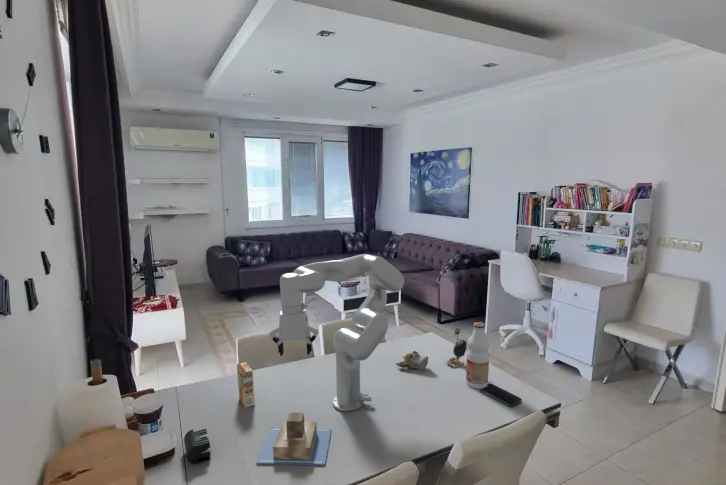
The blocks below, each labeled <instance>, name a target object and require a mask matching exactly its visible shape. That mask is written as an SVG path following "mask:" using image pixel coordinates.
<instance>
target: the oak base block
mask: <svg viewBox="0 0 726 485" xmlns="http://www.w3.org/2000/svg"><path fill="white" fill-rule="evenodd" d="M286 421H287V420H283V421H282V423H281V426H280V427H279V428H280V430H279V433H278V436H277V438H276V441H275V443H274V446H273V457H274V459H311V454H312V450H313V446H314V442H315V438H316V433H317V429H318V427H317V421H305V420H304V432H303V436H302V438H287V426H286Z"/></svg>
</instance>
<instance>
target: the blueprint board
mask: <svg viewBox="0 0 726 485" xmlns="http://www.w3.org/2000/svg"><path fill="white" fill-rule="evenodd" d="M280 428H281V427H279V428H278V427H271V428H270V430H269V432H268V435H267V437H266V439H265V442H264V444H263V446H262V449H261V451H260V453H259V456H258V458H257V461H256V465H267V466H268V465H270V466H271V465H272V466H311V467H312V466H313V467H316V466H317V467H319V466H322V467H325V466H326V462H327V457H328V450H329V444H330V440H331V435H332V429H331V428H317V433H316V438H315V442H314V446H313V450H312V454H311V459H274V457H273V446H274V443H275V441H276V438H277V436H278V433H279V430H280Z"/></svg>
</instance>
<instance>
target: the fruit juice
mask: <svg viewBox="0 0 726 485" xmlns="http://www.w3.org/2000/svg"><path fill="white" fill-rule="evenodd" d="M472 326H473V331H472V334H471V335H470V336H469V338H468V340H467V345H468V346H467V347H468V348H467V350H466V351H467V353H466V365H465V366H466V367H465V368H466V369H465V370H466V373H465V383H466V385H467V386H468V387H470V388H473V389H475V390H476V389H477V390H482V389H485V387H486V388H487V387H488V384H489V366H490V354H489V349H490V340H489V339H488V337H487V334H486V331H485V329H486V324H485V323H484V322H481V321H480V322H479V321H478V322H473V325H472Z"/></svg>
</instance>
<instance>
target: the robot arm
mask: <svg viewBox="0 0 726 485" xmlns="http://www.w3.org/2000/svg"><path fill="white" fill-rule="evenodd" d="M364 276H365V277H366V276H368V284H369V289H368V290H369V291H368V294H367V296H366V297H365V299H364V301H363V302H362V303H361V305H360V306H359V307H358V308H357V310H356V311H355V313H354V314H353V316H352V318H351V323H352V325H353V327H354V328H355V329H357V330H359V331H357V330H355V329H353V328H349V327H341V328H339V329H337V331H336V332H335V333H334V336H333V348H334V353H335V366H336V373H335V374H336V396H335V397H333V400H332V405H333V407H334V408H335V409H336V410H338V411H340V412H346V413H348V412H356V411H358V410H360V409H361V408H362V407H363V406H364V404H365V402H372V395H370V396H369V393H363V392H362V389H361V361H366V360H367V359H368V358H369V357H370V356H371V355H372V353H374V351H375V349H376V348H377V347H378V345H379V344H380V343H381V341H382V340H383V338H384V337H385V335H386V334H387V331H388V329H389V319H388V317H387V316H386V315H385V314H383V311H384V309H385V308H386V305H387V301H388V294H387V291H388V292H392V293H397V292H400V291H401V290H402V289H403V287H404V284H405V277H404V275H403V273H402V272H401V271H400V270H398V269H397V268H396V267H395V266H394V265H392V263H390V262H389V261H387V260H386V259H385V258H383V257H382V256H379V255H373V254H369V253H363V254H357V255H354V256H350V257H346V258H343V259H337V260H328V261H320V262H313V263H309V264H305V265H301V266H298V267H297V268H296V269H294V270H293V272H287V273H284V274H282V275H280V278H279V288H280V301H281V302H280V304H281V311H280V313H279V319H278V320H279V321H278V322H279V323H278V327H277V328H275V329H273V330H272V331H270V332H269V336H270V338H271V339H272V341H273V342H275V343H276V346H277V349H278V353H279V355H280V357H283V355H284V353H285V352H284V342H283V341H305V342H306V355H307V356H309V355H310V354H311V352H312V349H313V348H312V347H313V346H312V343H313V342H314V341H315V340H316V338H317V337H318V334H319V330H318V329H316V328H314V327H311V326H309V319H308V318H309V317H308V313H307V311H306V310H307V309H308V304H305V303H304V299H303V294H304V293H305V294H306V293H316V292H319V291H320V290H322V289H323V288H324V287H325V284H326V282H327V281H328V282H334V283H335V282H337V283H340V282H348V281H351V280H354V279H357V278H361V277H364ZM360 331H361V332H360ZM309 333H313V335H312V336H310V335H309ZM276 334H278V336H276Z"/></svg>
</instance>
